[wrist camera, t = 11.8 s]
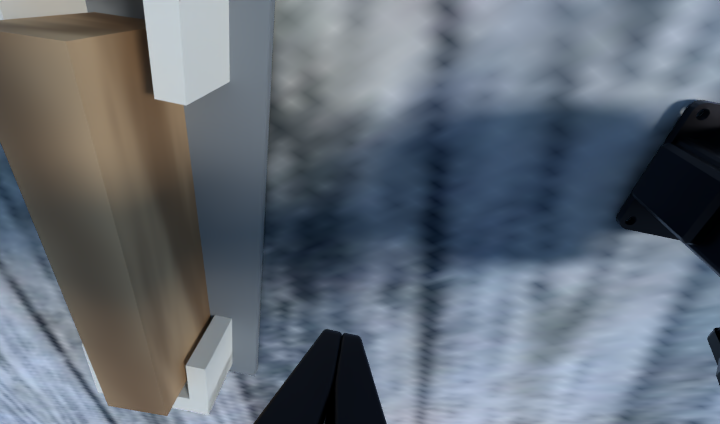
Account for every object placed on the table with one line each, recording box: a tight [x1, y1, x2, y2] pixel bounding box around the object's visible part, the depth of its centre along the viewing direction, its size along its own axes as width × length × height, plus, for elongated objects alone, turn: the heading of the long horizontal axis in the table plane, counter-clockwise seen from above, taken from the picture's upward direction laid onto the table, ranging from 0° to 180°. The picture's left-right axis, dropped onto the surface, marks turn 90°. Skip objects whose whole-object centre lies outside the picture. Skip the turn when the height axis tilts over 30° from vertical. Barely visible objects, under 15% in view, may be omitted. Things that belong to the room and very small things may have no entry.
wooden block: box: [0, 12, 211, 416], centre depth 19 cm, size 4×20×6 cm, turn 173°
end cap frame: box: [0, 0, 275, 415], centre depth 20 cm, size 11×28×5 cm, turn 170°
